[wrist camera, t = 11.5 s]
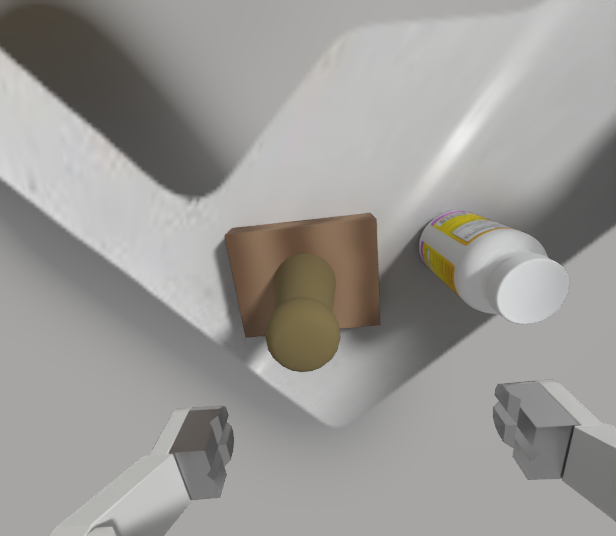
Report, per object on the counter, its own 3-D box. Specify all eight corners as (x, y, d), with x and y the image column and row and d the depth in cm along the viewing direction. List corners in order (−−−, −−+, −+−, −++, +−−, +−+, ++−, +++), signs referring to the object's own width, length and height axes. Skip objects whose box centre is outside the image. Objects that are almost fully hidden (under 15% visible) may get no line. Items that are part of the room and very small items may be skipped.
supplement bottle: (457, 281, 34) (538, 352, 22) (404, 255, 33) (459, 315, 21) (496, 226, 32) (609, 271, 20) (441, 197, 31) (525, 225, 19)
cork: (334, 311, 32) (345, 387, 22) (274, 309, 32) (257, 385, 22) (337, 254, 30) (352, 308, 19) (273, 252, 30) (254, 305, 19)
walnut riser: (370, 213, 31) (376, 218, 29) (374, 311, 35) (380, 324, 32) (231, 228, 32) (224, 235, 29) (250, 322, 36) (245, 337, 33)
